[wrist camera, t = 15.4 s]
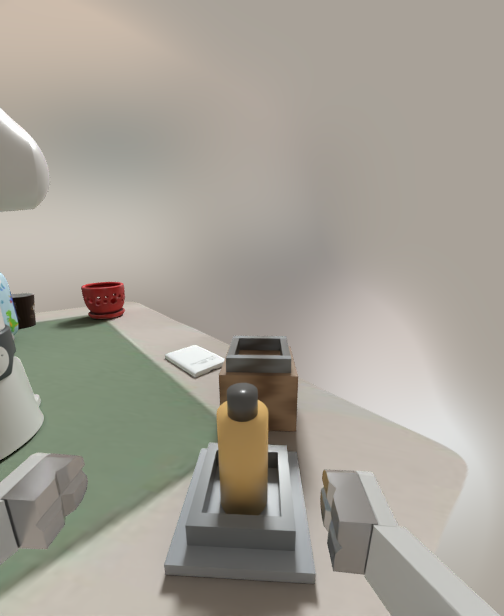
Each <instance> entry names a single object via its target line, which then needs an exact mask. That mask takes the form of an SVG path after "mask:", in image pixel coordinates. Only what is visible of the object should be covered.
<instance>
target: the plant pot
mask: <svg viewBox="0 0 504 616" xmlns="http://www.w3.org/2000/svg"><path fill="white" fill-rule="evenodd" d="M81 289H82V294H83V298H84V301H85V304H86V306H87V307H88V309H89V310H90V312H89V313H88V314H89V316H90V317H92V318H94V319H110V318H115V317H118V316H121V315H122V314H123V313H124V311H125V309H124V308H122V307H123V304H124V299H125V294H124V285H123V283H120V282H101V283H92V284H86V285H83V286H82V287H81ZM113 294H114V295H113ZM105 296H106V297H107V298H105ZM97 297H100V298H99V299H98V298H97Z"/></svg>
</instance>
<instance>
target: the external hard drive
mask: <svg viewBox="0 0 504 616" xmlns="http://www.w3.org/2000/svg"><path fill="white" fill-rule="evenodd" d="M165 358H166V359H167V360H169V361H170V362H172V363H173V364H175V365H177V366H178V367H180V368H181V369H183V370H184V371H186V372H187V373H189V374H190V375H192V376H193V377H195V378H196V377H198V376H201V375H203V374H205V373H208V372H210V371H212V370H214V369H218V368H220V367H222V365H223V363H224V360H225V359H224V358H222V357H220V356H218V355H216V354H214V353H212V352H210V351H208V350H206V349H204V348H201V347H199V346H197V345H193V346H190V347H186V348H183V349H180V350H177V351H173V352H170V353H167V354H165Z"/></svg>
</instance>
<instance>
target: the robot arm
mask: <svg viewBox="0 0 504 616" xmlns="http://www.w3.org/2000/svg"><path fill="white" fill-rule="evenodd" d="M49 184H50V175H49V169H48V165H47V162H46V159H45V157H44V155H43V153H42V151H41V150H40V148H39V146H38V145H37V144H36V142H35V141H34V140H33V138H32V137H31V136H30V135H29V134H28V133H27V132H26V131H25V130H24V129H23V128H22V127H21V126H20V125H19V124H17V123H16V122H15V121H14V120H13V119H11V118H10V117H9V116H8V115H7V114H6V113H5V112H4V111H3V110H2V109H1V108H0V212H2V211H16V210H27V209H34V208H35V207H37V206H38V205H39V204H40V203H41V202H42V201H43V199H44V198H45V196H46V194H47V192H48V189H49ZM14 340H15V339H14V336H13V334H12V333H11V330H10V327H9V326H8V325H6V324H4V320H3V316H2V312H1V308H0V460H1V459H3V458H5V457H6V456H8V455H9V454H11V453H12V452H14V451H15V450H17V449H18V448H19V447H21V446H22V445H23V444H25V443H26V442H27V441H28V440H29V439H30V438H31V437H32V436H33V435H34V434H35V433H36V432H37V431H38V430H39V428H40V427H41V425H42V423H43V420H44V416H43V413H42V412H41V410H40V409H39V405H40V403H41V399H40V397H39V395H38V394H33V391H32V388H31V386H30V383H29V381H28V378H27V375H26V373H25V370H24V368H23V365H22V363H21V361H20V359H19V358H17V357H15V356H14V353H15V352H16V348H15V344H14ZM84 465H85V464H84V460H83V457H81V456H75V455H63V454H52V453H51V454H49V453H36V454H33V455H31V456H30V457H29V458H28V459H26V460H25V461H24V462H23V463H22V464H21V465H20V466H19V467H17V468H16V469H15V470H14V471H13V472H12V473H11V474H9V475H8V476H7V477H6V478H5V479H4V480H3V481H2V482H0V564H2V563H3V562H4V561H5V560H7V559H8V558H9V557H10V556H12V555H13V554H14V553H15V552H17V551H18V548H28V549H48V547H49V546H50V544H51V543H52V542H53V540H54V539H55V538H56V536H57V535H58V533H59V532H60V531H61V529H62V528H63V526H64V525H65V519H66V516H67V515H69V514H70V513H71V512H73V511H74V510H76V508H77V507H78V506H79V504H80V503H81V501H82V500H83V497H84V495H85V492H86V490H87V484H88V480H87V475H86V474H85V473H84V472H83V471H82V468H83V467H84ZM322 480H323V485H324V487H323V488H322V489H321V498H320V500H321V513H322V519H323V524H324V527H325V528H326V530H327V531H328V532H329V533H328V542H327V544H328V549H329V553H330V558H331V562H332V567H333V571H336V572H345V573H354V574H363V575H365V578H366V580H367V581H368V582H369V584H370V585H371V587H372V588H373V590H374V591H375V593H376V594H377V595H378V597H379V598H380V600H381V601H382V603H383V604H384V606H385V607H386V609H387V610H388V611H389V613H390V614H391V616H499V614H498V613H497V612H495V611H494V610H493V609H492V608H491V607H490V606H489V605H488V604H487V603H486V602H485V601H484V600H483V599H481V598H480V597H479V596H478V595H477V594H476V593H475V592H474V591H473V590H472V589H471V588H470V587H469V586H467V585H466V584H465V583H464V582H463V581H462V580H461V579H460V578H459V577H458V576H457V575H456V574H454V572H452V571H451V570H450V569H449V568H448V567H447V566H446V565H445V564H444V563H443V562H442V561H441V560H440V559H438V557H436V556H435V555H434V554H433V553H432V552H431V551H430V550H429V549H428V548H427V547H426V546H425V545H424V544H422V543H421V542H420V541H419V540H418V539H417V538H416V537H415V536H414V535H413V534H412V533H411V532H410V531H409V530H407V529H406V528H405V527H400V526H399V525H398V523H397V521H396V519H395V516H394V514H393V512H392V510H391V508H390V506H389V504H388V502H387V500H386V498H385V496H384V494H383V492H382V490H381V487H380V485H379V483H378V481H377V479H376V477H375V475H374V474H373V473H372V472H366V471H347V470H325V469H324V471H323V476H322Z"/></svg>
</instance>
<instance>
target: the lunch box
mask: <svg viewBox="0 0 504 616" xmlns="http://www.w3.org/2000/svg"><path fill="white" fill-rule="evenodd" d="M0 308H1V312H2V316H3V320H4V324H6V325H8V326H9V327H10V330H11V333H12V334H13V335H15V334H16V333H17V331H18V319H17V315H16V311H15V307H14V303H13V299H12V296H11V292H10V289H9V285H8V283H7V280H6V279H5V277H4V276H3V274H1V273H0Z"/></svg>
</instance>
